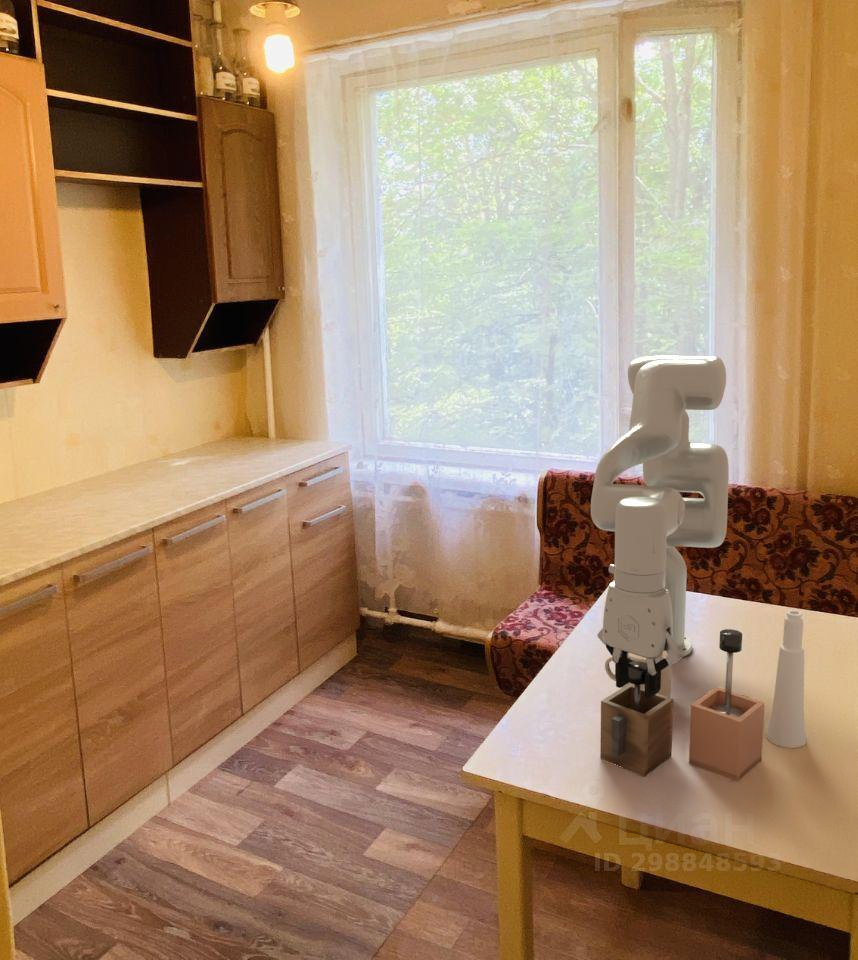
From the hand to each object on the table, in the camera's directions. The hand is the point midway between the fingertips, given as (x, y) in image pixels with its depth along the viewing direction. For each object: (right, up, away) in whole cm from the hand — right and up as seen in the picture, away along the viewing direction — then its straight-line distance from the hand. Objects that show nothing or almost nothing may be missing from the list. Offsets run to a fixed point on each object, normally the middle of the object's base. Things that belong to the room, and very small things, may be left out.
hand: (637, 688), depth 137 cm
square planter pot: (+14, -12, 0) cm, 18 cm away
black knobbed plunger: (+14, -4, -1) cm, 14 cm away
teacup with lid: (+5, -7, +23) cm, 24 cm away
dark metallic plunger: (0, -10, +2) cm, 10 cm away
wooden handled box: (0, -12, +3) cm, 12 cm away
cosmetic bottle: (+26, -10, +7) cm, 29 cm away
